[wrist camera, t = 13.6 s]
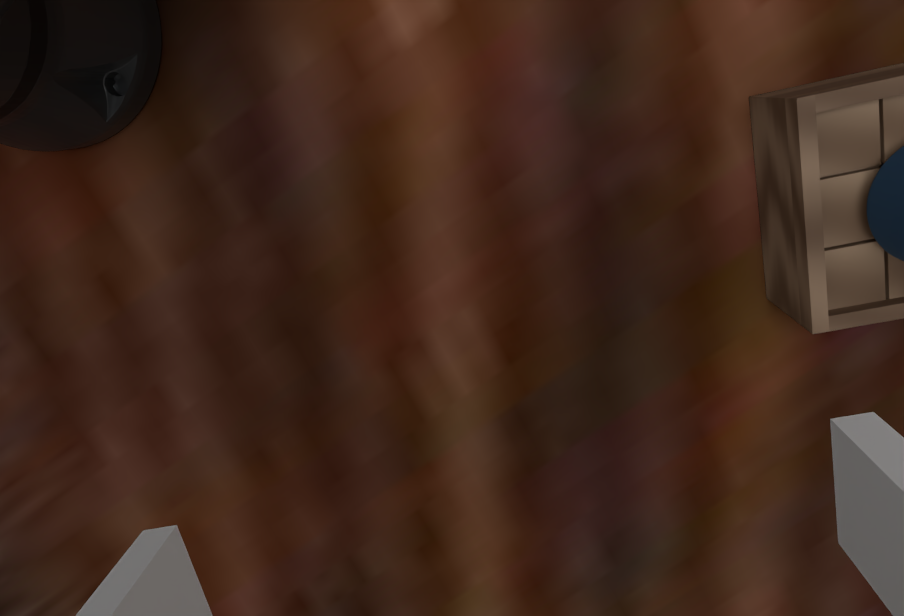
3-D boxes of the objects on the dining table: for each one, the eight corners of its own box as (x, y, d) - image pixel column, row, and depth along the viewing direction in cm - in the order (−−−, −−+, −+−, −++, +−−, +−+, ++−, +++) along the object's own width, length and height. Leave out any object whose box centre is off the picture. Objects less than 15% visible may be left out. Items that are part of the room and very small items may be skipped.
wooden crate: (749, 96, 41) (796, 98, 35) (978, 46, 40) (1073, 38, 33) (766, 298, 45) (812, 334, 39) (977, 259, 44) (1062, 290, 37)
